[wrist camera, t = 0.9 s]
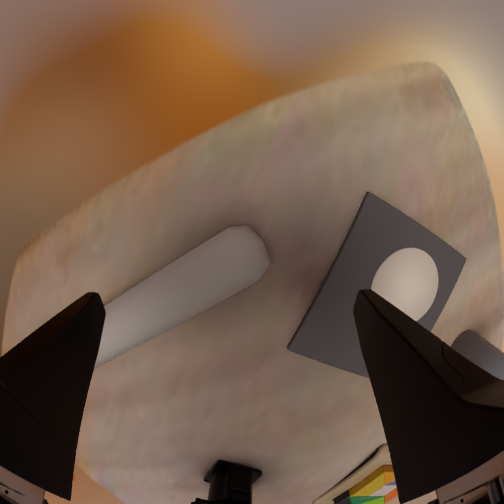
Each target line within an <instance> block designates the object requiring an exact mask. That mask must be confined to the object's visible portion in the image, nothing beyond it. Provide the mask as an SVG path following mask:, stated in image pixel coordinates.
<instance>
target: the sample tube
mask: <svg viewBox="0 0 504 504" xmlns="http://www.w3.org/2000/svg"><path fill="white" fill-rule="evenodd" d="M451 348H453V349H454V350H456V351H457V352H458V353H460V354H461V355H463V356H464V357H466V358H467V359H469V360H470V361H472V362H473V363H475V364H476V365H478V366H479V367H481V368H482V369H484V370H486V371H487V372H489V373H490V374H492V375H493V376H495V377H497V378H499V379H501V380H504V353H503V352H502V351H501V350H499V349H498V348H496V347H495V346H494V345H492V344H491V343H489V342H488V341H487V340H485V339H484V338H482V337H481V336H480V335H478V334H477V333H475V332H474V331H472V330H467V331H465V332H463V333H461V334H460V335H459V336H458V337H457V338H456V340H455V341H454V342H453V344H452V346H451Z"/></svg>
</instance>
